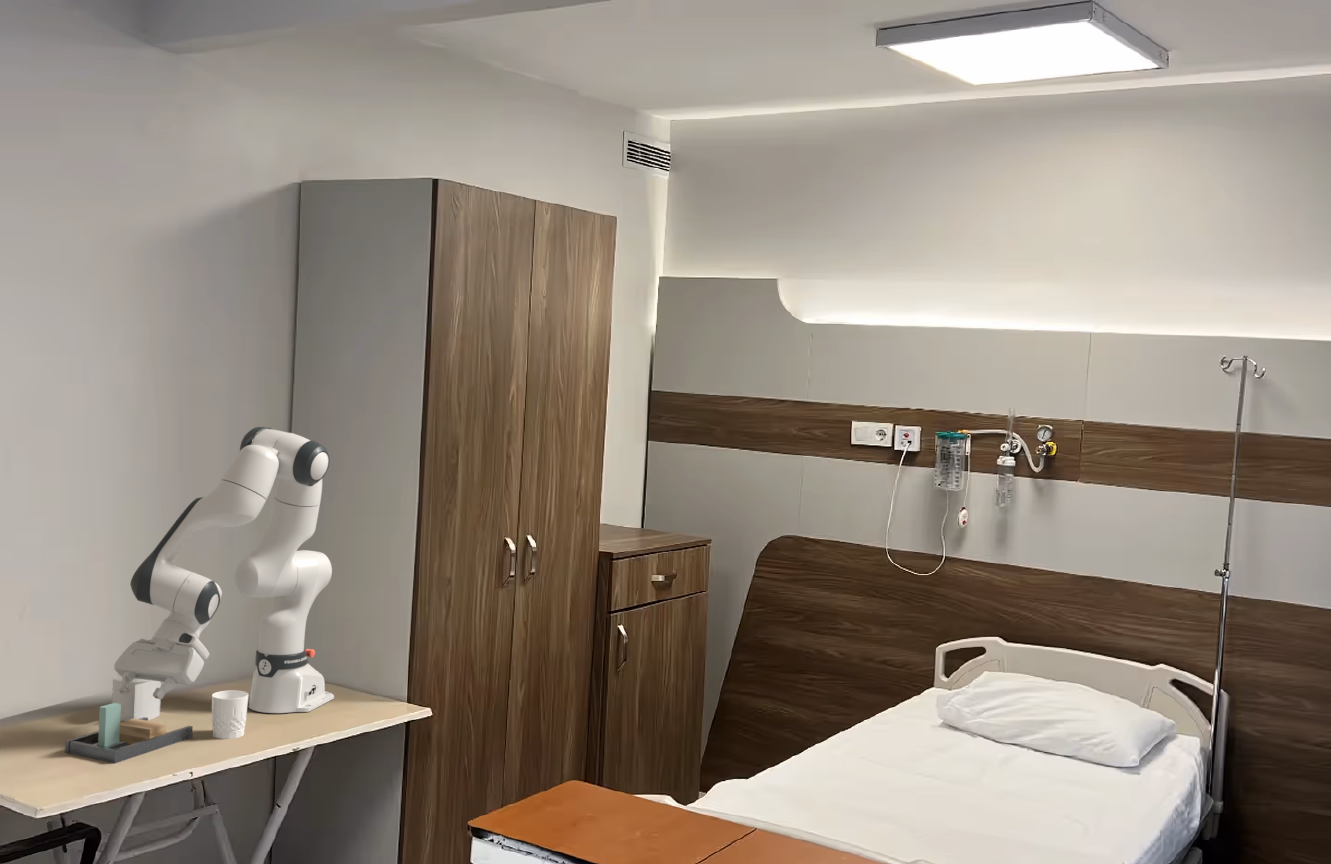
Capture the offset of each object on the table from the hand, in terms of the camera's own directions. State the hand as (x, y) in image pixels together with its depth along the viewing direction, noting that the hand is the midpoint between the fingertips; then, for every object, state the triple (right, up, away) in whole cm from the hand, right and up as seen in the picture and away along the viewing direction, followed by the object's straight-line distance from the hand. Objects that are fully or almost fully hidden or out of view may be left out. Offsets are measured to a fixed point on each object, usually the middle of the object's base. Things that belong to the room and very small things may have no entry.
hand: (139, 695), depth 265 cm
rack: (-3, -12, +1) cm, 12 cm away
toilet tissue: (-11, -11, +24) cm, 29 cm away
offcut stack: (-1, -11, +4) cm, 12 cm away
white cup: (+15, -13, +13) cm, 23 cm away
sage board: (-5, -11, -4) cm, 13 cm away
